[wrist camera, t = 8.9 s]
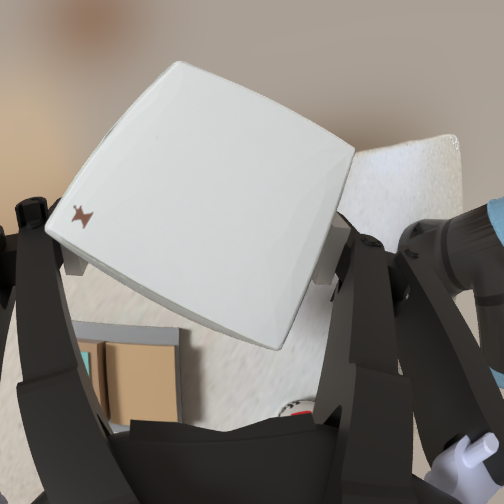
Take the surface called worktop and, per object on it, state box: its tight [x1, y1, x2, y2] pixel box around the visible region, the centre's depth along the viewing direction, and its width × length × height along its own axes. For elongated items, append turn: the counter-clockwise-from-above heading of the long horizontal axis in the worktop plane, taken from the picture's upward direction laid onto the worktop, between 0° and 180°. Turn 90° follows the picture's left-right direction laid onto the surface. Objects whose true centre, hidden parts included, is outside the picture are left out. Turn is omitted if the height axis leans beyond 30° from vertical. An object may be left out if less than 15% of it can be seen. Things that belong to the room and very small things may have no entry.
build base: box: [72, 321, 182, 432], centre depth 28 cm, size 20×14×6 cm
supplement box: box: [45, 61, 355, 351], centre depth 14 cm, size 7×7×13 cm
